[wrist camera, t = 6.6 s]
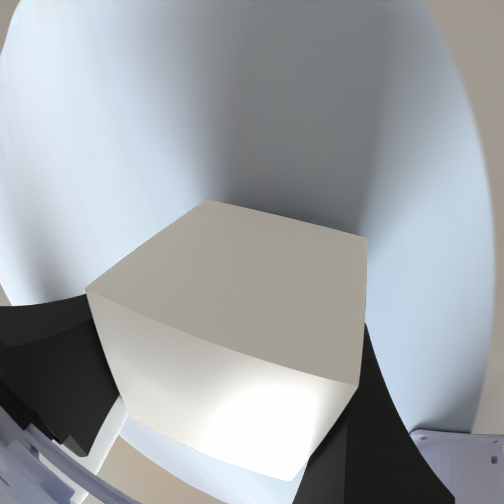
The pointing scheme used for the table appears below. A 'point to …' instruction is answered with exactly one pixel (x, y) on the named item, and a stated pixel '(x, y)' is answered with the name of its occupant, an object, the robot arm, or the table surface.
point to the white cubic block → (237, 333)
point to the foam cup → (93, 449)
